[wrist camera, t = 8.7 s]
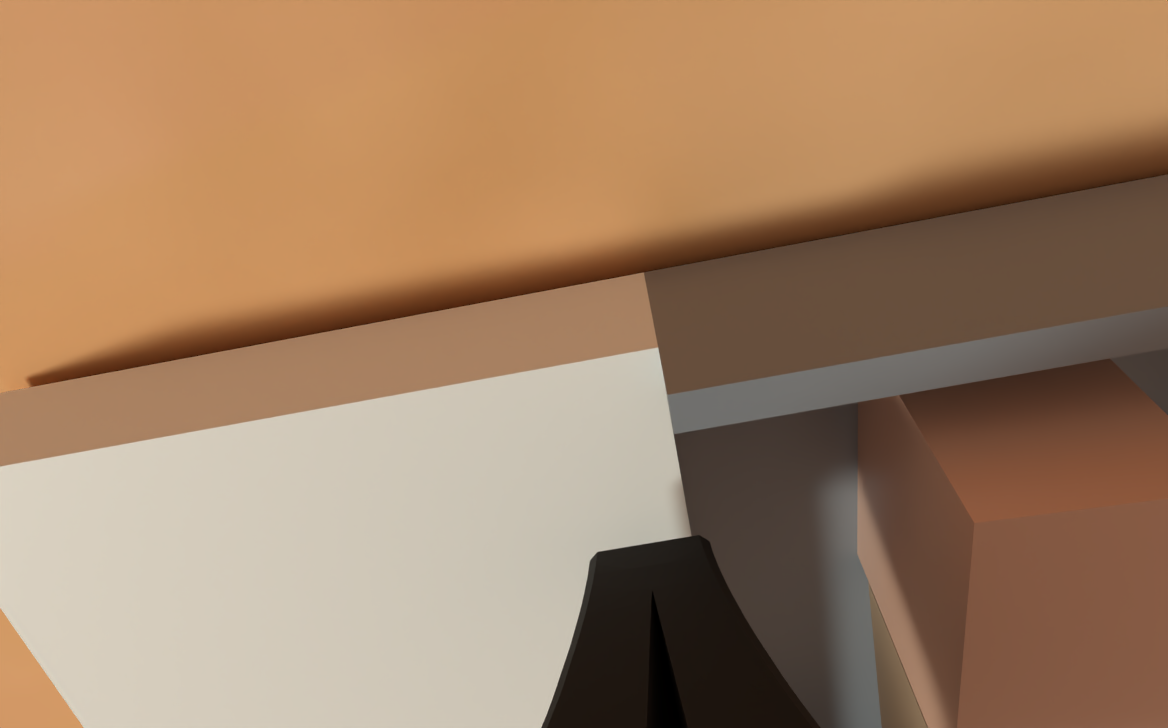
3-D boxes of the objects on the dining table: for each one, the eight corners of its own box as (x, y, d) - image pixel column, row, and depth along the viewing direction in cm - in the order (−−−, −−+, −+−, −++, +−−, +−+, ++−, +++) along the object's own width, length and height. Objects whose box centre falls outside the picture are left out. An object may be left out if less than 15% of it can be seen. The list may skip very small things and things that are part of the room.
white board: (736, 793, 18) (755, 898, 16) (279, 859, 18) (251, 967, 17) (643, 272, 12) (658, 347, 11) (-2, 393, 13) (-87, 482, 11)
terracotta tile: (857, 553, 14) (1022, 533, 14) (951, 786, 11) (1170, 761, 11) (858, 326, 12) (1050, 299, 12) (973, 522, 9) (1242, 489, 9)
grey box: (1228, 722, 17) (1347, 884, 15) (736, 793, 18) (767, 960, 15) (1362, 137, 12) (1593, 230, 9) (643, 272, 12) (666, 395, 10)
